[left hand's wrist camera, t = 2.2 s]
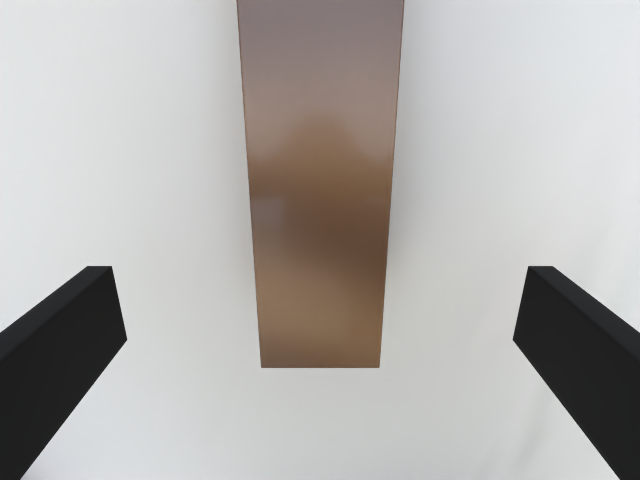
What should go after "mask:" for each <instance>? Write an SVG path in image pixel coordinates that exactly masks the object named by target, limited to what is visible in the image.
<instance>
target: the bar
mask: <svg viewBox="0 0 640 480" xmlns="http://www.w3.org/2000/svg"><path fill="white" fill-rule="evenodd" d="M403 12H404V0H237V14H238V29H239V44H240V59H241V74H242V89H243V104H244V119H245V134H246V149H247V163H248V178H249V193H250V208H251V223H252V238H253V253H254V268H255V283H256V298H257V313H258V328H259V343H260V358H261V368H379V367H380V353H381V338H382V323H383V308H384V294H385V279H386V264H387V249H388V234H389V220H390V205H391V190H392V175H393V160H394V145H395V131H396V116H397V101H398V86H399V71H400V57H401V42H402V27H403Z"/></svg>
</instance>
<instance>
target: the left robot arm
mask: <svg viewBox="0 0 640 480" xmlns="http://www.w3.org/2000/svg"><path fill="white" fill-rule="evenodd" d="M126 341H127V336H126V331H125V327H124V322H123V317H122V312H121V308H120V303H119V298H118V294H117V289H116V284H115V279H114V275H113V270H112V266H87V267H86V268H84V269H83V270H82V271H80V272H79V273H78V274H77V275H75V276H74V277H73V278H71V279H70V280H69V281H67V282H66V283H65V284H63V285H62V286H61V287H60V288H58V289H57V290H56V291H54V292H53V293H52V294H50V295H49V296H48V297H46V298H45V299H44V300H43V301H41V302H40V303H39V304H37V305H36V306H35V307H33V308H32V309H31V310H29V311H28V312H27V313H26V314H24V315H23V316H22V317H20V318H19V319H18V320H16V321H15V322H14V323H12V324H11V325H10V326H9V327H7V328H6V329H5V330H3V331H2V332H1V333H0V480H20V479H21V478H22V476H23V475H24V474H25V473H26V471H27V470H28V469H29V467H30V466H31V465H32V463H33V462H34V461H35V459H36V458H37V457H38V456H39V454H40V453H41V452H42V450H43V449H44V448H45V446H46V445H47V444H48V443H49V441H50V440H51V439H52V437H53V436H54V435H55V433H56V432H57V431H58V429H59V428H60V427H61V426H62V424H63V423H64V422H65V420H66V419H67V418H68V416H69V415H70V414H71V413H72V411H73V410H74V409H75V407H76V406H77V405H78V403H79V402H80V401H81V399H82V398H83V397H84V396H85V394H86V393H87V392H88V390H89V389H90V388H91V386H92V385H93V384H94V382H95V381H96V380H97V379H98V377H99V376H100V375H101V373H102V372H103V371H104V369H105V368H106V367H107V366H108V364H109V363H110V362H111V360H112V359H113V358H114V356H115V355H116V354H117V352H118V351H119V350H120V349H121V347H122V346H123V345H124V343H125V342H126ZM513 341H514V342H515V343H516V345H517V346H518V347H519V349H520V350H521V351H522V352H523V354H524V355H525V356H526V358H527V359H528V360H529V362H530V363H531V364H532V366H533V367H534V368H535V369H536V371H537V372H538V373H539V375H540V376H541V377H542V379H543V380H544V381H545V382H546V384H547V385H548V386H549V388H550V389H551V390H552V392H553V393H554V394H555V396H556V397H557V398H558V399H559V401H560V402H561V403H562V405H563V406H564V407H565V409H566V410H567V411H568V413H569V414H570V415H571V416H572V418H573V419H574V420H575V422H576V423H577V424H578V426H579V427H580V428H581V429H582V431H583V432H584V433H585V435H586V436H587V437H588V439H589V440H590V441H591V443H592V444H593V445H594V446H595V448H596V449H597V450H598V452H599V453H600V454H601V456H602V457H603V458H604V459H605V461H606V462H607V463H608V465H609V466H610V467H611V469H612V470H613V471H614V473H615V474H616V475H617V476H618V478H619V479H620V480H640V333H639V332H638V331H637V330H635V329H634V328H633V327H631V326H630V325H629V324H628V323H626V322H625V321H624V320H622V319H621V318H620V317H618V316H617V315H616V314H614V313H613V312H612V311H611V310H609V309H608V308H607V307H605V306H604V305H603V304H601V303H600V302H599V301H597V300H596V299H595V298H594V297H592V296H591V295H590V294H588V293H587V292H586V291H584V290H583V289H582V288H580V287H579V286H578V285H577V284H575V283H574V282H573V281H571V280H570V279H569V278H567V277H566V276H565V275H563V274H562V273H561V272H560V271H558V270H557V269H556V268H554V267H553V266H528V270H527V275H526V279H525V284H524V289H523V294H522V298H521V303H520V308H519V312H518V317H517V322H516V327H515V331H514V336H513Z"/></svg>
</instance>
